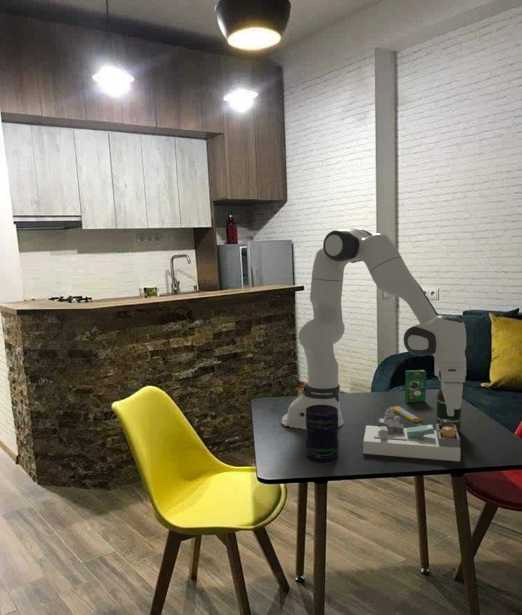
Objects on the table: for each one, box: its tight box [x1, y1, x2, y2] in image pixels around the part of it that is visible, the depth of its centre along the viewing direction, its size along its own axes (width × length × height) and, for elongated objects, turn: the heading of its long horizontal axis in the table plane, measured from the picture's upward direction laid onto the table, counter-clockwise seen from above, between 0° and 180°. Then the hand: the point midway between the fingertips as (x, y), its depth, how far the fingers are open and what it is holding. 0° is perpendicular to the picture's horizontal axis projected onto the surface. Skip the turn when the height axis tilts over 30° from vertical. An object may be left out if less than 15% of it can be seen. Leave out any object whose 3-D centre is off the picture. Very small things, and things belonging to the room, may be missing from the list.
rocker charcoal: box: [377, 417, 405, 433], centre depth 161 cm, size 8×4×2 cm, turn 74°
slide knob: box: [381, 426, 387, 439], centre depth 155 cm, size 2×3×3 cm, turn 165°
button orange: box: [442, 427, 455, 439], centre depth 150 cm, size 4×4×2 cm
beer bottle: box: [436, 388, 462, 434], centre depth 170 cm, size 8×8×24 cm
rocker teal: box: [406, 424, 435, 437], centre depth 156 cm, size 8×4×2 cm, turn 75°
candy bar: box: [390, 405, 423, 423], centre depth 188 cm, size 17×4×2 cm, turn 15°
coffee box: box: [404, 369, 427, 404], centre depth 204 cm, size 8×3×13 cm, turn 97°
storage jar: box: [305, 405, 340, 464], centre depth 152 cm, size 10×10×15 cm
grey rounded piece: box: [382, 405, 401, 424], centre depth 176 cm, size 5×7×8 cm
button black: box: [440, 419, 453, 429], centre depth 157 cm, size 4×4×2 cm
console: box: [362, 420, 461, 462], centre depth 157 cm, size 28×14×7 cm, turn 75°
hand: (450, 414), depth 149 cm, fingers closed
